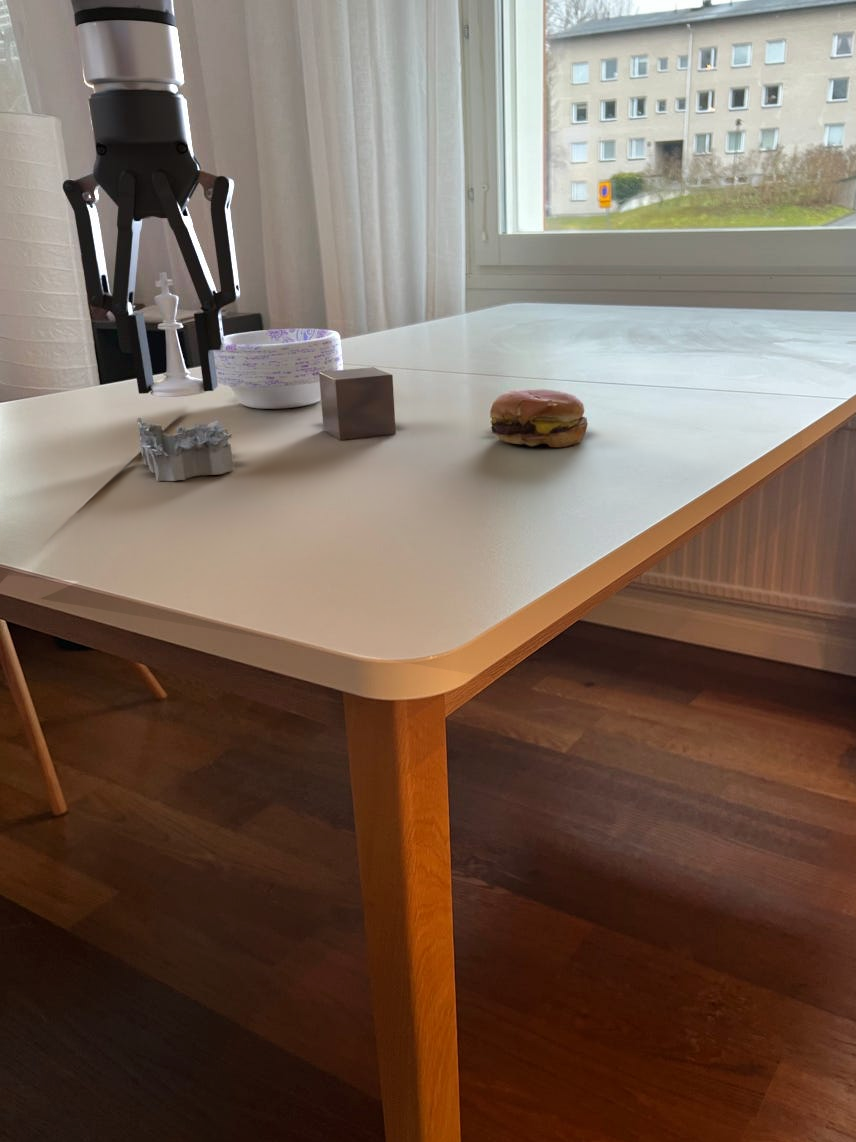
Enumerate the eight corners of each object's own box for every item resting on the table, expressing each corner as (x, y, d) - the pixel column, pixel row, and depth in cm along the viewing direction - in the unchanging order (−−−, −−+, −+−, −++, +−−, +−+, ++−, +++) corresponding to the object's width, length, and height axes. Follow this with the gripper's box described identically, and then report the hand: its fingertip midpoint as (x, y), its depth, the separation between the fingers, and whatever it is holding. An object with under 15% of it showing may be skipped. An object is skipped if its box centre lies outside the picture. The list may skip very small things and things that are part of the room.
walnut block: (340, 440, 100) (335, 379, 98) (323, 429, 105) (318, 371, 103) (396, 434, 102) (392, 374, 100) (377, 424, 107) (373, 367, 105)
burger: (540, 425, 104) (540, 380, 103) (605, 439, 98) (607, 391, 96) (468, 440, 99) (467, 393, 97) (532, 456, 92) (532, 405, 90)
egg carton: (140, 460, 94) (133, 417, 92) (220, 452, 97) (214, 409, 95) (152, 485, 85) (144, 437, 83) (240, 475, 88) (234, 428, 86)
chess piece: (219, 388, 89) (204, 270, 85) (183, 398, 85) (166, 274, 81) (175, 386, 91) (159, 270, 87) (138, 395, 87) (119, 274, 83)
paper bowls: (194, 412, 116) (184, 342, 112) (255, 390, 129) (248, 327, 126) (314, 416, 112) (307, 343, 109) (364, 393, 125) (359, 328, 122)
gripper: (256, 94, 83) (285, 379, 92) (36, 98, 82) (88, 386, 91) (243, 84, 76) (276, 393, 85) (3, 88, 75) (62, 401, 84)
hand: (179, 389), depth 88 cm, fingers closed on chess piece, 5 cm apart
